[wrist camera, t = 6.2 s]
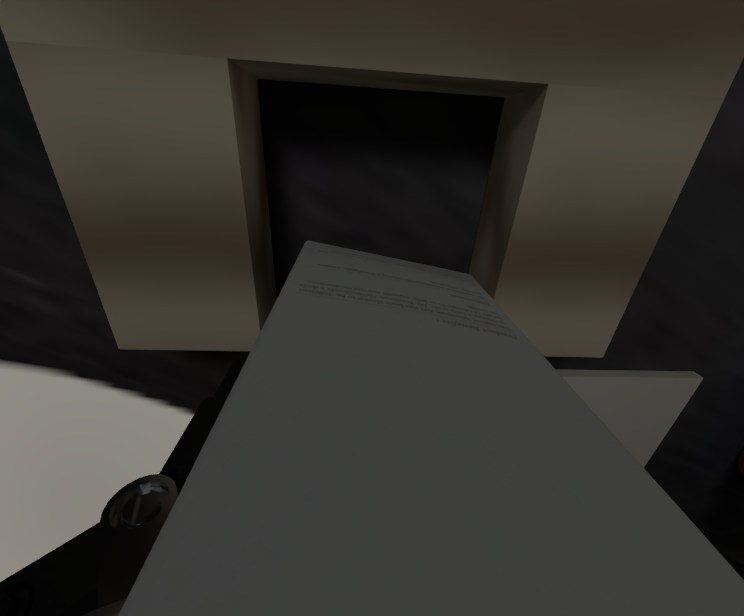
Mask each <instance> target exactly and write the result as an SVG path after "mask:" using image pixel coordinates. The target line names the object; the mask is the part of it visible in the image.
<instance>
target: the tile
mask: <svg viewBox="0 0 744 616" xmlns="http://www.w3.org/2000/svg"><path fill="white" fill-rule="evenodd" d="M555 370H556V369H555ZM556 371H557V372H558V373H559V374H560V375H561V376H562V377H563V378H564V379H565V381H566V382H567V383H568V384H569V385H570V386H571V387H572V389H573V390H574V391H575V392H576V393H577V394H578V395H579V396H580V398H581V399H582V400H583V401H584V402H585V403H586V404H587V405H588V407H589V408H590V409H591V410H592V411H593V412H594V413H595V414H596V415H597V416H598V418H599V419H600V420H601V421H602V422H603V423H604V424H605V425H606V426H607V428H608V429H609V430H610V431H611V432H612V433H613V434H614V436H615V437H616V438H617V439H618V440H619V441H620V442H621V444H622V445H623V446H624V447H625V448H626V449H627V450H628V451H629V452H630V453H631V455H632V456H633V457H634V458H635V459H636V460H637V461H638V462H639V463H640V465H641V466H642V467H643V468H644V466H645V465H646V463H647V462H648V460H649V459H650V457H651V456H652V454H653V453H654V451H655V450H656V448H657V447H658V445H659V444H660V442H661V441H662V439H663V438H664V437H665V435H666V434H667V432H668V431H669V429H670V428H671V426H672V425H673V423H674V422H675V420H676V419H677V417H678V416H679V414H680V413H681V411H682V410H683V408H684V407H685V405H686V404H687V402H688V401H689V399H690V398H691V396H692V395H693V393H694V392H695V390H696V389H697V387H698V386H699V384H700V383H701V381H702V380H703V377H701V376H700V375H698V374H697V373H695V372H694V371H627V370H556Z"/></svg>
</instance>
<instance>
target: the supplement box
mask: <svg viewBox="0 0 744 616" xmlns="http://www.w3.org/2000/svg"><path fill="white" fill-rule="evenodd" d="M118 616H744V580H743V579H742V577H741V576H740V575H739V574H738V573H737V572H736V571H735V570H734V569H733V567H732V566H731V565H730V564H729V563H728V562H727V561H726V560H725V558H724V557H723V556H722V555H721V554H720V553H719V552H718V551H717V549H716V548H715V547H714V546H713V545H712V544H711V543H710V542H709V540H708V539H707V538H706V537H705V536H704V535H703V534H702V533H701V531H700V530H699V529H698V528H697V527H696V526H695V525H694V524H693V522H692V521H691V520H690V519H689V518H688V517H687V516H686V515H685V513H684V512H683V511H682V510H681V509H680V508H679V507H678V506H677V505H676V503H675V502H674V501H673V500H672V499H671V498H670V497H669V496H668V495H667V493H666V492H665V491H664V490H663V489H662V488H661V487H660V486H659V485H658V483H657V482H656V481H655V480H654V479H653V478H652V477H651V476H650V475H649V473H648V472H647V471H646V470H645V469H644V468H643V467H642V466H641V465H640V463H639V462H638V461H637V460H636V459H635V458H634V457H633V456H632V455H631V453H630V452H629V451H628V450H627V449H626V448H625V447H624V446H623V445H622V444H621V442H620V441H619V440H618V439H617V438H616V437H615V436H614V434H613V433H612V432H611V431H610V430H609V429H608V428H607V426H606V425H605V424H604V423H603V422H602V421H601V420H600V419H599V418H598V416H597V415H596V414H595V413H594V412H593V411H592V410H591V409H590V408H589V407H588V405H587V404H586V403H585V402H584V401H583V400H582V399H581V398H580V396H579V395H578V394H577V393H576V392H575V391H574V390H573V389H572V387H571V386H570V385H569V384H568V383H567V382H566V381H565V379H564V378H563V377H562V376H561V375H560V374H559V373H558V372H557V371H556V370H555V368H554V367H553V366H552V365H551V364H550V363H549V362H548V361H547V360H546V359H545V357H544V356H543V355H542V354H541V353H540V352H539V351H538V350H537V348H536V347H535V346H534V345H533V344H532V343H531V342H530V340H529V339H528V338H527V337H526V336H525V335H524V334H523V333H522V332H521V330H520V329H519V328H518V327H517V326H516V325H515V324H514V323H513V322H512V321H511V320H510V318H509V317H508V316H507V315H506V314H505V313H504V312H503V310H502V309H501V308H500V307H499V306H498V305H497V303H496V302H495V301H494V300H493V299H492V298H491V296H490V295H489V294H488V293H487V292H486V291H485V290H484V289H483V288H482V286H481V285H480V284H479V283H478V282H477V281H476V280H475V279H474V277H473V276H472V275H470V274H465V273H460V272H456V271H452V270H447V269H443V268H439V267H434V266H429V265H424V264H419V263H415V262H410V261H405V260H400V259H395V258H390V257H386V256H381V255H376V254H371V253H366V252H361V251H357V250H352V249H347V248H342V247H337V246H332V245H327V244H322V243H317V242H313V241H306V242H305V244H304V246H303V248H302V250H301V252H300V254H299V256H298V258H297V260H296V262H295V264H294V266H293V268H292V270H291V272H290V274H289V276H288V278H287V280H286V282H285V284H284V286H283V288H282V290H281V292H280V294H279V296H278V298H277V300H276V302H275V304H274V306H273V308H272V310H271V312H270V314H269V316H268V318H267V320H266V322H265V324H264V326H263V328H262V330H261V332H260V334H259V336H258V338H257V340H256V342H255V344H254V346H253V348H252V350H251V352H250V354H249V356H248V358H247V360H246V362H245V364H244V366H243V368H242V370H241V372H240V374H239V376H238V378H237V380H236V382H235V384H234V386H233V388H232V390H231V392H230V394H229V396H228V398H227V400H226V402H225V404H224V406H223V408H222V410H221V412H220V414H219V416H218V418H217V420H216V422H215V424H214V426H213V428H212V430H211V432H210V434H209V436H208V437H207V439H206V441H205V443H204V445H203V447H202V449H201V451H200V453H199V455H198V457H197V459H196V461H195V463H194V466H193V468H192V470H191V472H190V474H189V476H188V478H187V480H186V482H185V484H184V486H183V488H182V490H181V492H180V494H179V496H178V498H177V500H176V502H175V504H174V505H173V507H172V509H171V511H170V513H169V515H168V517H167V519H166V521H165V523H164V525H163V527H162V529H161V531H160V533H159V535H158V537H157V539H156V541H155V543H154V545H153V547H152V549H151V551H150V553H149V555H148V557H147V559H146V561H145V563H144V565H143V567H142V569H141V571H140V573H139V575H138V577H137V579H136V581H135V583H134V585H133V587H132V589H131V591H130V593H129V595H128V597H127V599H126V601H125V603H124V605H123V607H122V609H121V611H120V613H119V615H118Z"/></svg>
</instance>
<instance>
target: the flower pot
mask: <svg viewBox="0 0 744 616" xmlns="http://www.w3.org/2000/svg"><path fill="white" fill-rule="evenodd" d="M738 465H739V469H740V471H741V473H742V475H743V476H744V449H743V451H742V453H741V455H740V458H739V463H738Z"/></svg>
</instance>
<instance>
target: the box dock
mask: <svg viewBox="0 0 744 616" xmlns="http://www.w3.org/2000/svg"><path fill="white" fill-rule="evenodd" d="M0 26H1V29H2V32H3V34H4V37H5V40H6V42H7V45H8V48H9V51H10V53H11V56H12V59H13V62H14V64H15V67H16V70H17V72H18V75H19V78H20V81H21V83H22V86H23V89H24V92H25V94H26V97H27V100H28V102H29V105H30V108H31V111H32V113H33V116H34V119H35V122H36V124H37V127H38V130H39V132H40V135H41V138H42V141H43V143H44V146H45V149H46V151H47V154H48V157H49V160H50V162H51V165H52V168H53V171H54V173H55V176H56V179H57V181H58V184H59V187H60V190H61V192H62V195H63V198H64V201H65V203H66V206H67V209H68V211H69V214H70V217H71V220H72V222H73V225H74V228H75V231H76V233H77V236H78V239H79V241H80V244H81V247H82V250H83V252H84V255H85V258H86V260H87V263H88V266H89V269H90V271H91V274H92V277H93V280H94V282H95V285H96V288H97V290H98V293H99V296H100V299H101V301H102V304H103V307H104V310H105V312H106V315H107V318H108V320H109V323H110V326H111V329H112V331H113V334H114V337H115V340H116V342H117V345H118V348H119V349H144V350H202V351H251V350H252V348H253V346H254V344H255V342H256V340H257V338H258V336H259V334H260V332H261V330H262V328H263V326H264V324H265V322H266V320H267V318H268V316H269V314H270V312H271V310H272V308H273V306H274V304H275V302H276V300H277V296H276V285H275V274H274V262H273V251H272V240H271V229H270V217H269V206H268V195H267V183H266V172H265V161H264V150H263V138H262V127H261V116H260V104H259V93H258V82H257V79H266V80H279V81H292V82H306V83H319V84H332V85H345V86H359V87H372V88H385V89H398V90H411V91H425V92H438V93H451V94H464V95H478V96H491V97H504V98H505V99H504V104H503V109H502V114H501V119H500V124H499V128H498V133H497V138H496V143H495V148H494V153H493V158H492V162H491V167H490V172H489V177H488V182H487V187H486V192H485V196H484V201H483V206H482V211H481V216H480V221H479V225H478V230H477V235H476V240H475V245H474V250H473V255H472V259H471V264H470V269H469V274H470V275H472V276H473V277H474V279H475V280H476V281H477V282H478V283H479V284H480V285H481V286H482V288H483V289H484V290H485V291H486V292H487V293H488V294H489V295H490V296H491V298H492V299H493V300H494V301H495V302H496V303H497V305H498V306H499V307H500V308H501V309H502V310H503V312H504V313H505V314H506V315H507V316H508V317H509V318H510V320H511V321H512V322H513V323H514V324H515V325H516V326H517V327H518V328H519V329H520V330H521V332H522V333H523V334H524V335H525V336H526V337H527V338H528V339H529V340H530V342H531V343H532V344H533V345H534V346H535V347H536V348H537V350H538V351H539V352H540V353H541V354H542V355H543V356H554V357H603V356H604V353H605V351H606V349H607V347H608V345H609V343H610V341H611V338H612V336H613V334H614V332H615V330H616V328H617V326H618V324H619V321H620V319H621V317H622V315H623V313H624V311H625V309H626V307H627V304H628V302H629V300H630V298H631V296H632V294H633V292H634V290H635V287H636V285H637V283H638V281H639V279H640V277H641V275H642V272H643V270H644V268H645V266H646V264H647V262H648V260H649V258H650V255H651V253H652V251H653V249H654V247H655V245H656V243H657V241H658V238H659V236H660V234H661V232H662V230H663V228H664V226H665V224H666V221H667V219H668V217H669V215H670V213H671V211H672V209H673V206H674V204H675V202H676V200H677V198H678V196H679V194H680V192H681V189H682V187H683V185H684V183H685V181H686V179H687V177H688V175H689V172H690V170H691V168H692V166H693V164H694V162H695V160H696V158H697V155H698V153H699V151H700V149H701V147H702V145H703V143H704V140H705V138H706V136H707V134H708V132H709V130H710V128H711V126H712V123H713V121H714V119H715V117H716V115H717V113H718V111H719V109H720V106H721V104H722V102H723V100H724V98H725V96H726V94H727V92H728V89H729V87H730V85H731V83H732V81H733V79H734V77H735V74H736V72H737V70H738V68H739V66H740V64H741V62H742V60H743V57H744V0H0Z"/></svg>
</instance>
